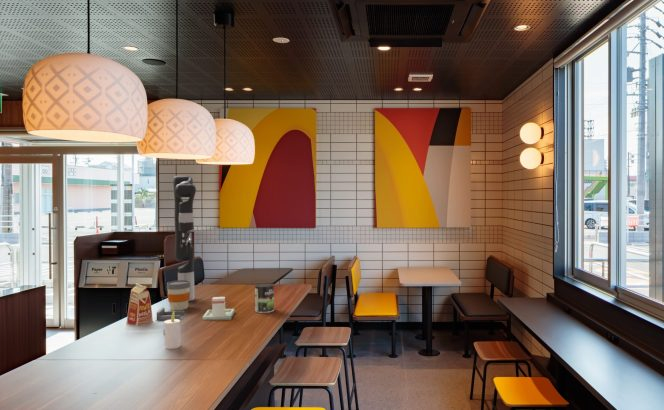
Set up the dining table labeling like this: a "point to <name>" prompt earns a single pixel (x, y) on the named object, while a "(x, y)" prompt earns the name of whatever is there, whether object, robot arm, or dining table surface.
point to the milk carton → (139, 306)
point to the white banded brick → (218, 306)
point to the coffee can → (264, 298)
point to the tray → (227, 316)
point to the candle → (172, 333)
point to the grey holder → (169, 315)
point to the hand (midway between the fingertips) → (186, 251)
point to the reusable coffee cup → (178, 294)
